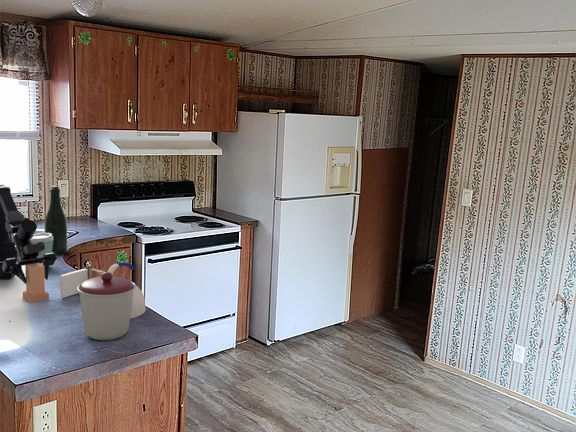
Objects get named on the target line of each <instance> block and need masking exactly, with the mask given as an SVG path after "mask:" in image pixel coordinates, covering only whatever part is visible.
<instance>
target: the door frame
mask: <svg viewBox="0 0 576 432" xmlns="http://www.w3.org/2000/svg"><path fill="white" fill-rule="evenodd" d="M85 269H88V279H91V278H96V277H101V275H102V274H103V273H104V272H105V271H104V270H101V269H97V268H94V267H93V268H92V267H91V264H89V265H86V267H85Z"/></svg>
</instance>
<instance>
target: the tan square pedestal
mask: <svg viewBox="0 0 576 432" xmlns="http://www.w3.org/2000/svg"><path fill="white" fill-rule="evenodd" d="M24 266H25V267H24V268H25V269H24V270H25V277H26V281H27V283H26V284H25V290H24V291H22V299H23V300H25V301H26V302H28V303H29V304H32V303H36V302H37V303H39V302H42V301H47V300H49V299H50V293H49V292H48V291H46V287H45V285H46V284H45V281H46V279H45V275H44V266H43V265H42V264H40V263H35V264H29V265H24Z"/></svg>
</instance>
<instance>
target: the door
mask: <svg viewBox="0 0 576 432" xmlns="http://www.w3.org/2000/svg"><path fill="white" fill-rule="evenodd" d="M86 280H88V269H87V268H82V269H79V270H75V271H70V272H67V273H64V274H60V275H59V286H60V287H59V288H60V298H68V297H70V296H73V295H76V294H80V293H79V292H78V290H77V287H78V285H79V284H81V283H83V282H84V281H86Z"/></svg>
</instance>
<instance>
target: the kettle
mask: <svg viewBox="0 0 576 432" xmlns="http://www.w3.org/2000/svg"><path fill="white" fill-rule="evenodd" d="M119 267H127V268H129V270H131V271H134V270H136V267H135V266H134V265H132V264H131V263H129V262H125V261H124V262H123V261H121V262H116V263H114V264H112V265H111V266H110V267H109V268H108V270H107V272H110V273H111V274H112V276H114V273H115V271H116V269H118V268H119ZM125 278H126V279H128V280H129V278H128V277H125ZM145 300H146V299H145V295H144V294H143V292H142V290H141V289H140V288H139V286H137V285H136V288H135V289H134V291H133V301H132V309H131V317H130V320H131V319H134V318H138V317H140V316H141V315H143V314H145V312H146V311H147V308H146V301H145Z"/></svg>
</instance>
